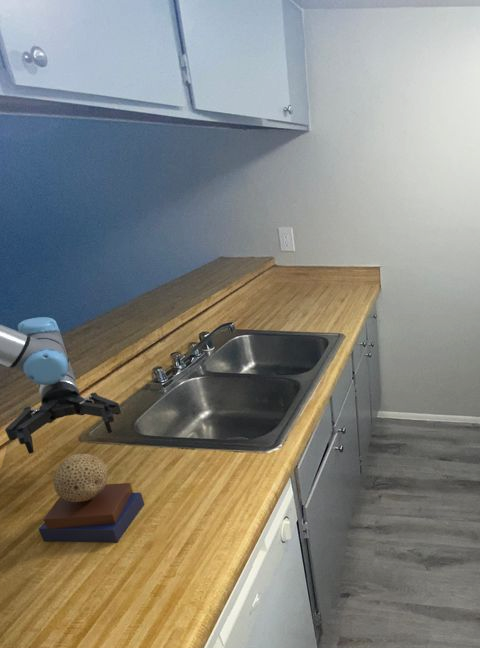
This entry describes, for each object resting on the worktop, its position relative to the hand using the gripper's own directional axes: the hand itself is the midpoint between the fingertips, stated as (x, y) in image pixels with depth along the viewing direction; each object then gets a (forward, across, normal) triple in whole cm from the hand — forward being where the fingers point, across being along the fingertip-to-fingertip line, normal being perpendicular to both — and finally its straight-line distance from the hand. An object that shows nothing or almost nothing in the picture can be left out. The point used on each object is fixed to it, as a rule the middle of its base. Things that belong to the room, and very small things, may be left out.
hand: (70, 437), depth 96 cm
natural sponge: (+10, 0, -10) cm, 14 cm away
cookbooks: (+10, 0, -15) cm, 18 cm away
